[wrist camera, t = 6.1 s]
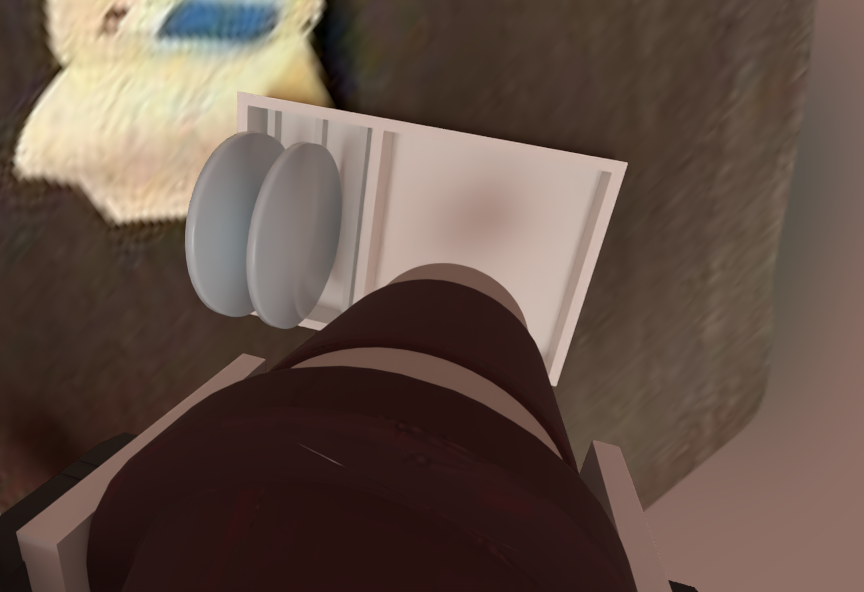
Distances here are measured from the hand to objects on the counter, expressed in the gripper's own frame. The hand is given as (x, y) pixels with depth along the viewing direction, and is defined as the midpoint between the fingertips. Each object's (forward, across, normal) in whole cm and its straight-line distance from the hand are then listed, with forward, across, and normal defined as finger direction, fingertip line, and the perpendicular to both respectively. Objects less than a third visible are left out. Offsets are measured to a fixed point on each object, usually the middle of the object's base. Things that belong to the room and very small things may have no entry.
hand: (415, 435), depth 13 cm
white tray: (+25, -5, 0) cm, 26 cm away
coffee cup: (+7, 0, 0) cm, 7 cm away
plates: (+24, -14, 0) cm, 28 cm away
